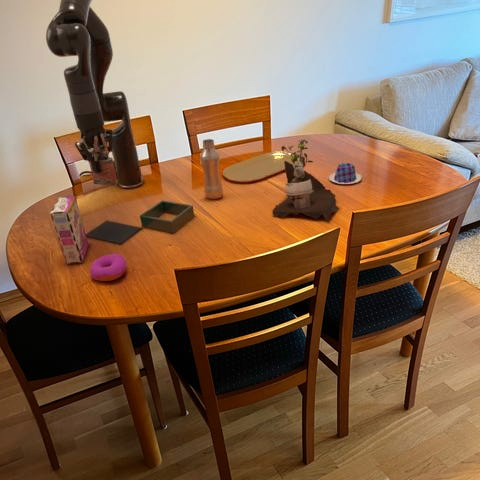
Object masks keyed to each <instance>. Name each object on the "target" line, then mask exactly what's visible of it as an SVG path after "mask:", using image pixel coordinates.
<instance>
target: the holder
mask: <svg viewBox="0 0 480 480" xmlns="http://www.w3.org/2000/svg"><path fill="white" fill-rule="evenodd" d="M164 213H167V214H171V215H172V214H173V215H176V216H175V217H173V218H172V219H171V220H170V219H165V218H159V217H160V216H161V215H163V214H164ZM194 217H195V210H194V205H193V204H192V205H191V204H186V203H180V202H176V201H169V200H164V199H163V200H162V199H161V200H160V201H159V202H157V203H156V204H155V205H153V206H152V207H150V208H149V209H147V210H146V211H144V212H143V213H141V214H140V215H139V219H140V223H141V228H145V229H151V230H155V231H160V232H164V233H165V232H166V233H170V234H175V233H176V232H177V231H178V230H179V229H181V228H182V227H184V226H185V225H186V224H187V223H188V222H190V221H191V220H192V219H193V218H194Z"/></svg>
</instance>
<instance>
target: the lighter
mask: <svg viewBox="0 0 480 480" xmlns="http://www.w3.org/2000/svg"><path fill="white" fill-rule="evenodd" d="M107 155H108V154H107V151H102V149H98V153H97V157H98V161H99V164H100V168H101V173H100V174H98V173H95V172H94V171H93V168H92V165H91V162H90V161H87V162H88V164H89V167H90V171H91V172H92V174H91V175H92V179H93V184H94V185H99V186H116V185H118V180H117V178H116V174H115V170H114V165H113V160H114V159H113V157H111V156H109V157H107ZM92 156H93V153H92Z"/></svg>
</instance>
